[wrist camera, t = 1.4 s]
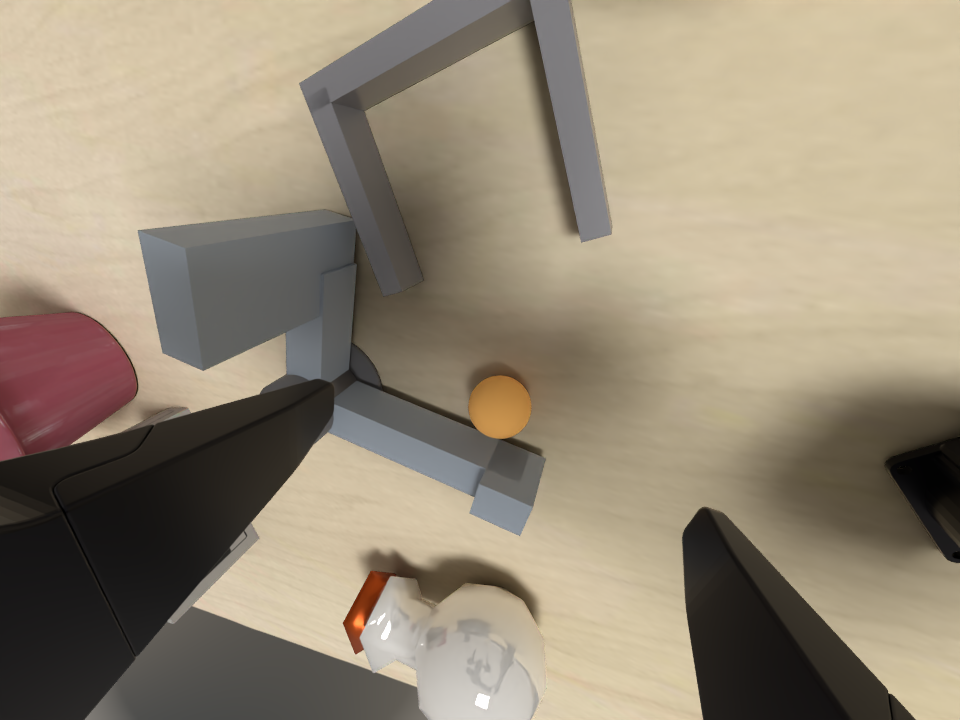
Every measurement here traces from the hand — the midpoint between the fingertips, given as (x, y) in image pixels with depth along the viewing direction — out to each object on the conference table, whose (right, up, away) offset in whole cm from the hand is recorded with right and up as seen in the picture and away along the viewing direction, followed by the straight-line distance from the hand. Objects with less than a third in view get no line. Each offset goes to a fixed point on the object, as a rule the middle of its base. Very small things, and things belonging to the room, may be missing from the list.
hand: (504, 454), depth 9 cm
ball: (+1, 0, +12) cm, 12 cm away
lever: (-4, +2, +14) cm, 15 cm away
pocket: (-1, +12, +9) cm, 15 cm away
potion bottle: (-2, -17, +24) cm, 29 cm away
